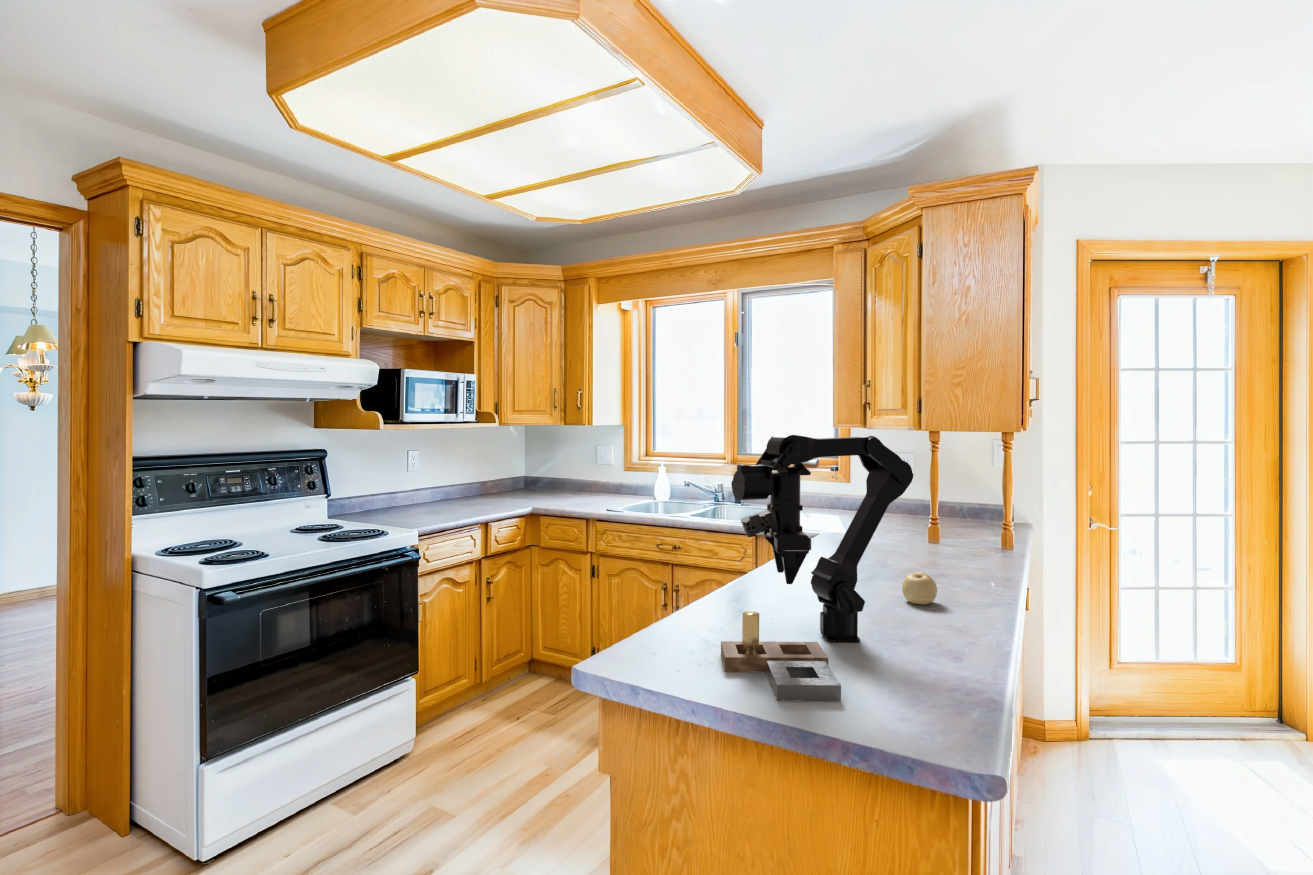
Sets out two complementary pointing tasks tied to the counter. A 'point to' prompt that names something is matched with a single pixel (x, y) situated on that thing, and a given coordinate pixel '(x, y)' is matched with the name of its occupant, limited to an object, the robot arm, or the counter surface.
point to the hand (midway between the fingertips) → (784, 577)
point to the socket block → (803, 681)
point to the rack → (768, 655)
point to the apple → (919, 588)
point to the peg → (750, 632)
